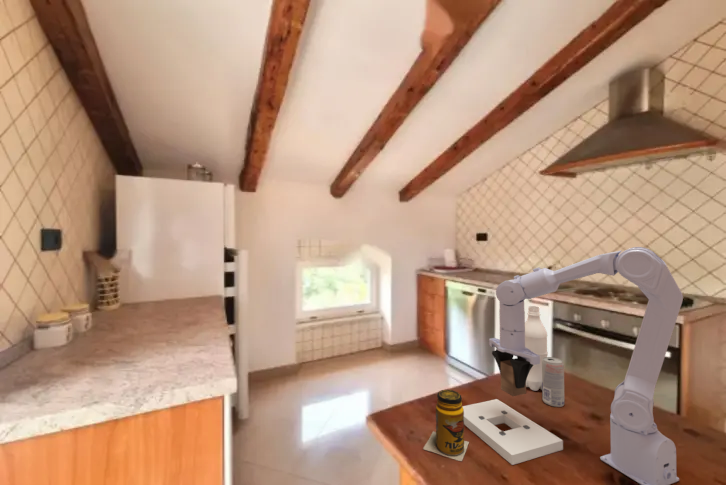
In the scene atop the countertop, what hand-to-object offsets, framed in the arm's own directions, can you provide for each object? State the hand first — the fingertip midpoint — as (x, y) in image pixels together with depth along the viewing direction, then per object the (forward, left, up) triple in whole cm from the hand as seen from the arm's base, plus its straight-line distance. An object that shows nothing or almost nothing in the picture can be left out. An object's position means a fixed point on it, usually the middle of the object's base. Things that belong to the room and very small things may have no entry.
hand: (512, 383), depth 80 cm
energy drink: (+5, -19, -11) cm, 22 cm away
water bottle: (+14, -22, -11) cm, 28 cm away
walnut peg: (0, 0, -2) cm, 2 cm away
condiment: (-1, +20, -11) cm, 23 cm away
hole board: (-1, +4, -10) cm, 11 cm away
